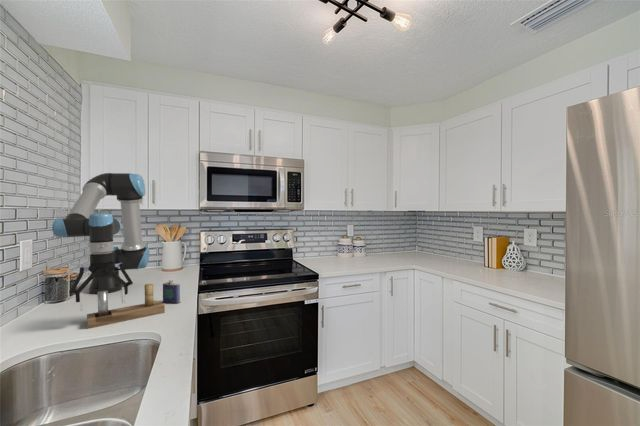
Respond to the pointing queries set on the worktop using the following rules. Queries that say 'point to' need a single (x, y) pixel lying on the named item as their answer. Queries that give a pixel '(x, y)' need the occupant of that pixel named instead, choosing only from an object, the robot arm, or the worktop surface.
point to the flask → (171, 293)
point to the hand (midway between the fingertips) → (103, 306)
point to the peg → (102, 303)
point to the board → (128, 311)
